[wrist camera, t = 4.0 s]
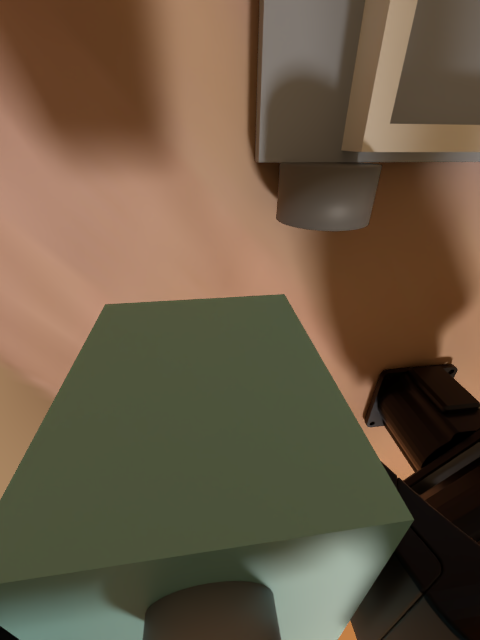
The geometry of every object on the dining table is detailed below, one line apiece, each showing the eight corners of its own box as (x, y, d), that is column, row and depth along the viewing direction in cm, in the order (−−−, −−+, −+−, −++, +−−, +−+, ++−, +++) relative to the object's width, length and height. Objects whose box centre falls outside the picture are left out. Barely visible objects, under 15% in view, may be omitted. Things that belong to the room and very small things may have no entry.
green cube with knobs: (271, 429, 12) (345, 707, 6) (142, 443, 11) (87, 766, 5) (284, 294, 9) (467, 611, 3) (105, 304, 8) (-120, 726, 2)
